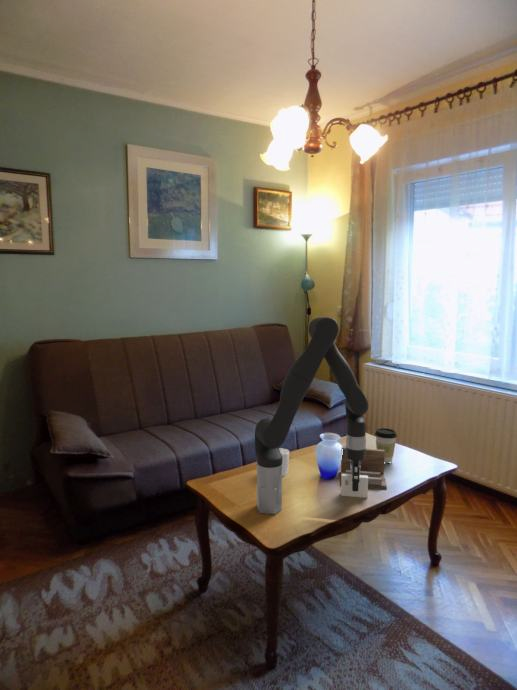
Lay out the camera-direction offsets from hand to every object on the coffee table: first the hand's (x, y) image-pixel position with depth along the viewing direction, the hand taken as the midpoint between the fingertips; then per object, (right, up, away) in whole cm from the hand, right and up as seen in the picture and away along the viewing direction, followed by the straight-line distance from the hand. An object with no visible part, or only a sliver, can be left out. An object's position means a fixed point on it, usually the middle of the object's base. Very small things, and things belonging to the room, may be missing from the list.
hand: (354, 486), depth 173 cm
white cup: (-28, -1, +20) cm, 35 cm away
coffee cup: (+21, 0, +34) cm, 40 cm away
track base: (+6, -2, +14) cm, 16 cm away
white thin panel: (0, -4, 0) cm, 4 cm away
